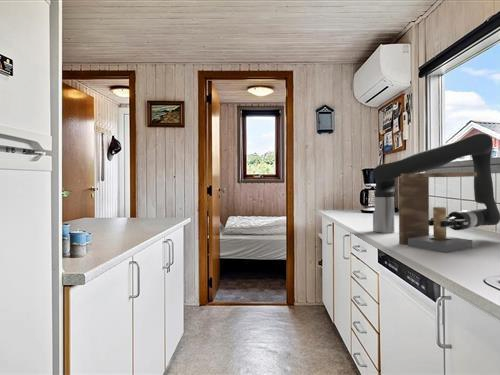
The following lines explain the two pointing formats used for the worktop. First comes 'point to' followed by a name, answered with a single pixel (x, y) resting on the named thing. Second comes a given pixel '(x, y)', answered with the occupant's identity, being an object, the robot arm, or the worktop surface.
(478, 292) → the worktop surface
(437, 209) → the wooden peg
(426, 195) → the wooden l bracket
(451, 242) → the socket plate
